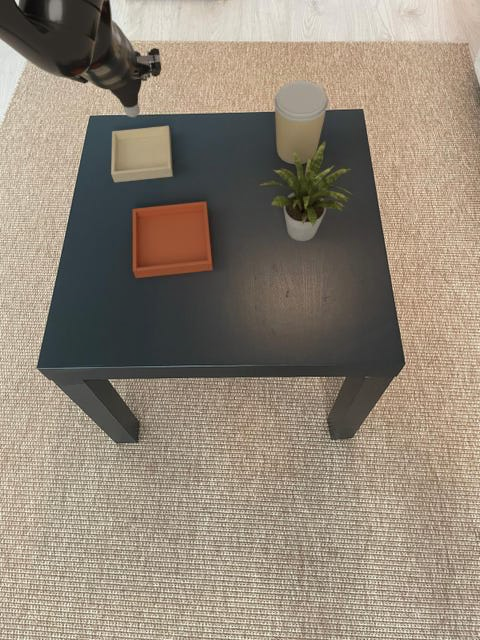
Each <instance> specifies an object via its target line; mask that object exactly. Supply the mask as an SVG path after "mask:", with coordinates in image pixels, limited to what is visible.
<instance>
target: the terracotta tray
mask: <svg viewBox="0 0 480 640" xmlns="http://www.w3.org/2000/svg"><path fill="white" fill-rule="evenodd" d="M207 203H208V202H207V201H206V200H205V201H197V202H196V201H195V202H187V203H186V202H185V203H177V204H166V205H158V206H148V207H147V206H146V207H139V208H137V207H136V208H132V272H133V275H134V277H135V279H142V278H151V277H161V276H170V275H178V274H179V275H181V274H189V273H199V272H207V271H208V272H209V271H214V267H213V265H214V264H213V256H212V255H213V254H212V245H211V233H210V222H209V211H208V205H207Z"/></svg>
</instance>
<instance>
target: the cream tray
mask: <svg viewBox="0 0 480 640" xmlns="http://www.w3.org/2000/svg"><path fill="white" fill-rule="evenodd" d="M170 129H171V128H170V125H163V126H162V125H161V126H152V127H143V128H132V129H122V130H113V131H111V163H110V164H111V166H110V169H111V170H110V172H111V173H110V175H111V177H112V179H113V183H123V182H124V183H125V182H131V181H133V182H134V181H141V180H142V181H143V180H152V179H153V180H155V179H162V178H171V177H172V178H173V177H174V174H173V172H174V171H173V170H174V169H173V153H172V136H171V130H170Z"/></svg>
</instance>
